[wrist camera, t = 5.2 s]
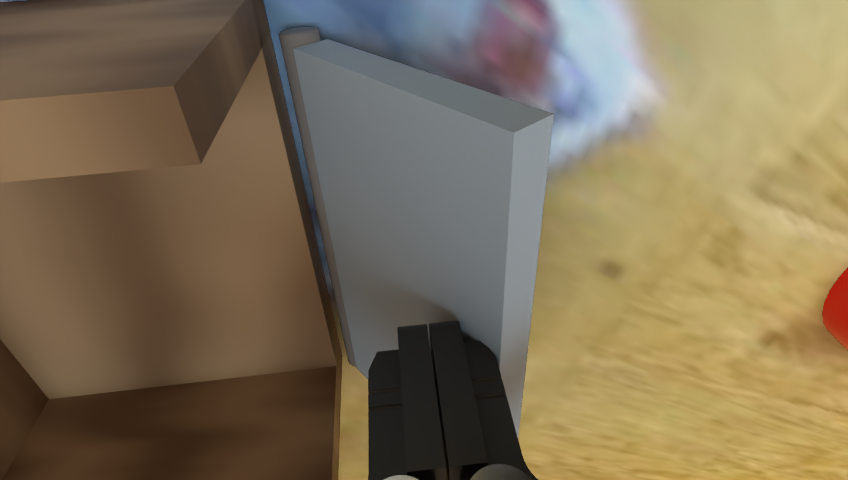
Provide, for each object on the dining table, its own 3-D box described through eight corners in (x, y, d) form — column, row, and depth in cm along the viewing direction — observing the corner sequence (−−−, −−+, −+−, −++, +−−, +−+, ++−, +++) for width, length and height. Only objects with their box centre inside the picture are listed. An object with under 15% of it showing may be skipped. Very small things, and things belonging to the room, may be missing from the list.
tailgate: (343, 356, 20) (491, 507, 15) (271, 32, 13) (515, 121, 8) (363, 343, 21) (512, 485, 16) (305, 24, 13) (555, 102, 8)
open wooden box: (50, 389, 21) (-73, 601, 15) (-242, 19, 12) (-815, 168, 6) (342, 356, 22) (335, 545, 16) (259, -17, 13) (173, 86, 7)
